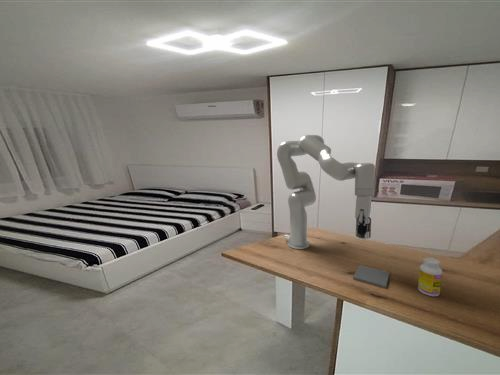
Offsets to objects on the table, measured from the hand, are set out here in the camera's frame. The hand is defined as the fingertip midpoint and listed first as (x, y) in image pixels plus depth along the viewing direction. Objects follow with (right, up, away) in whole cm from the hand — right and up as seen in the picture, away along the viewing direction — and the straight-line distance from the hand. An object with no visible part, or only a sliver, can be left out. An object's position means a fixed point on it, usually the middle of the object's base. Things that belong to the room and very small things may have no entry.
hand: (363, 231), depth 102 cm
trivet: (+2, -19, -3) cm, 19 cm away
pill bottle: (0, -3, 0) cm, 3 cm away
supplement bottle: (+18, -20, -14) cm, 31 cm away
